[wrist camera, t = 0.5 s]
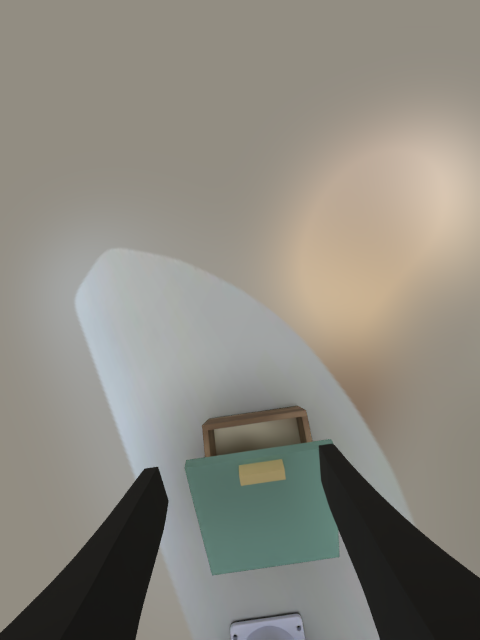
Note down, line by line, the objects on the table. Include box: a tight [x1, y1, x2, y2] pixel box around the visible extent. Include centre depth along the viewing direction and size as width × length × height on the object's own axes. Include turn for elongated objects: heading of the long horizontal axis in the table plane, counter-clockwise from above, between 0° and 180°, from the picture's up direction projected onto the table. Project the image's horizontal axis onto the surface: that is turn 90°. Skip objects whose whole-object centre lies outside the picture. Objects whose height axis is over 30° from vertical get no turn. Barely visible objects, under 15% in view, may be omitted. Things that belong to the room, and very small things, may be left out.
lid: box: [185, 439, 339, 575], centre depth 22 cm, size 14×12×2 cm
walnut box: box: [202, 406, 312, 457], centre depth 28 cm, size 13×12×5 cm
